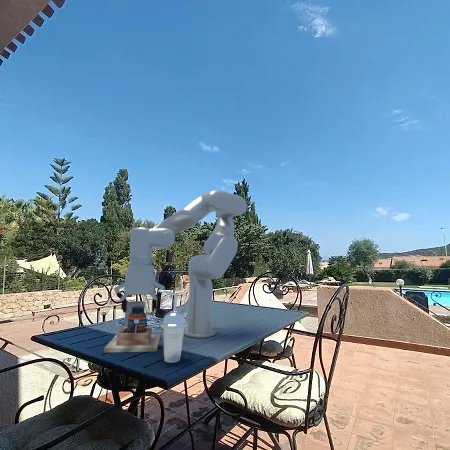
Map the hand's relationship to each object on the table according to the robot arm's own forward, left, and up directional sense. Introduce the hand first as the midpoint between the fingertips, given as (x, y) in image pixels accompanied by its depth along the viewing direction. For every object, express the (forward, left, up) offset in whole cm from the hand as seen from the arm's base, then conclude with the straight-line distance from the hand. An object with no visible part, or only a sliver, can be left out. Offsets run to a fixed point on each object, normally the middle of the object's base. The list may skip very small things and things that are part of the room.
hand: (139, 311), depth 97 cm
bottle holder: (+1, 0, -11) cm, 11 cm away
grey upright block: (+6, -29, -11) cm, 31 cm away
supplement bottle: (0, 0, -10) cm, 10 cm away
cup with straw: (-12, +16, -11) cm, 23 cm away
